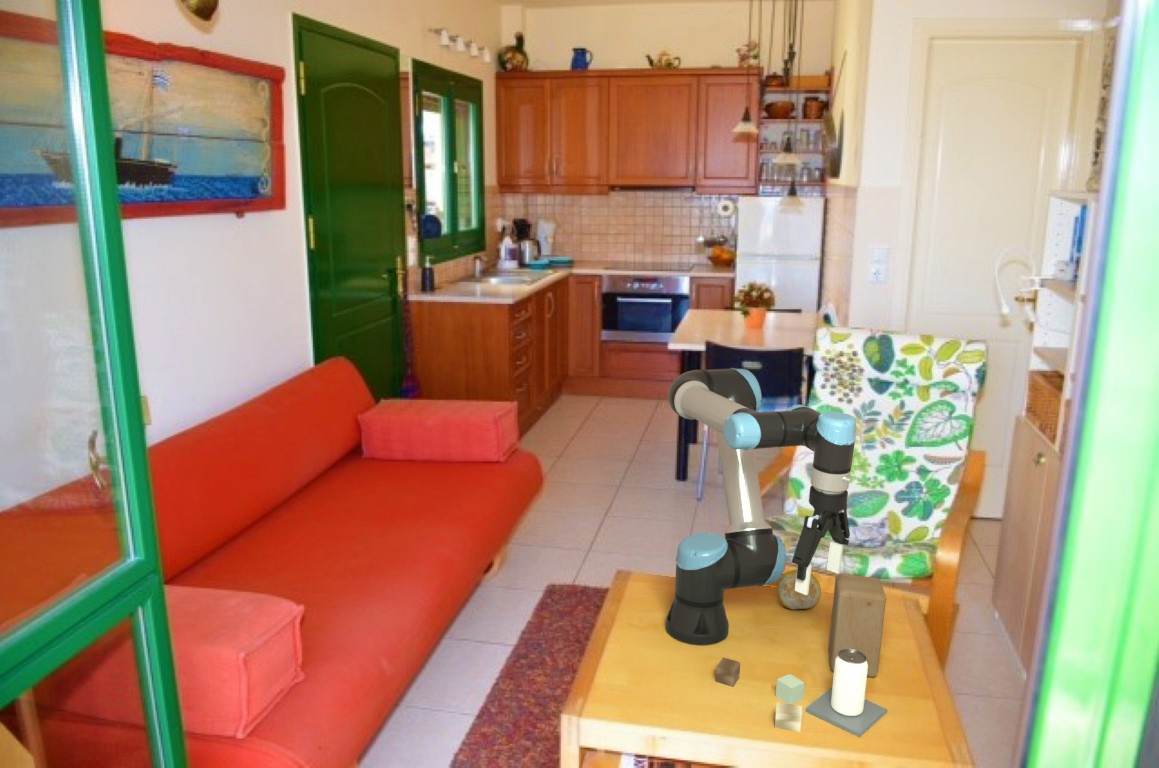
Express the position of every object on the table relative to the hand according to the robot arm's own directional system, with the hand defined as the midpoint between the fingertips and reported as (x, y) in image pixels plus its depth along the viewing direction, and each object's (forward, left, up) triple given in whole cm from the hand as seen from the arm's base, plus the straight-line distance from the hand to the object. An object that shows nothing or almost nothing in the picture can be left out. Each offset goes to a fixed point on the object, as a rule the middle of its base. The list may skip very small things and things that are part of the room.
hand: (817, 581), depth 185 cm
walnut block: (-14, -11, -25) cm, 30 cm away
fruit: (-21, +30, -25) cm, 44 cm away
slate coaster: (+10, -3, -25) cm, 27 cm away
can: (+11, -3, -24) cm, 26 cm away
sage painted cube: (-1, -7, -25) cm, 26 cm away
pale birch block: (+5, -16, -25) cm, 30 cm away
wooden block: (+3, +15, -25) cm, 29 cm away
